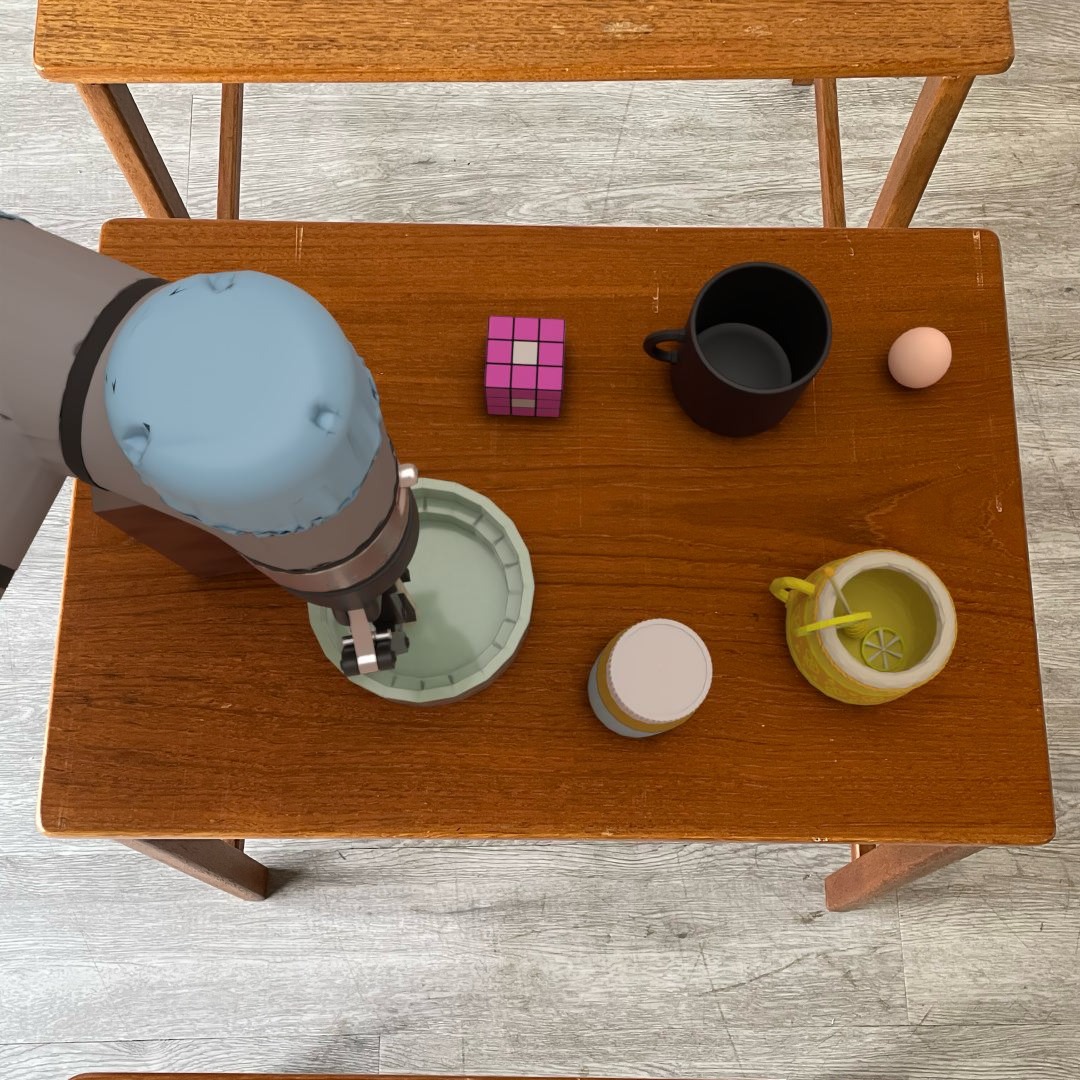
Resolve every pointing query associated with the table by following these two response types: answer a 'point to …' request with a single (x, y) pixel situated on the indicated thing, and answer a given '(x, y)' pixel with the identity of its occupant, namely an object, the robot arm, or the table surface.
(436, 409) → the table surface
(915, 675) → the mug
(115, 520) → the utensil stand
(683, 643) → the bottle
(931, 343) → the egg
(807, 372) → the mug
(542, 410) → the puzzle toy
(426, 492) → the bowl
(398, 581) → the stirring stick
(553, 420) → the table surface
